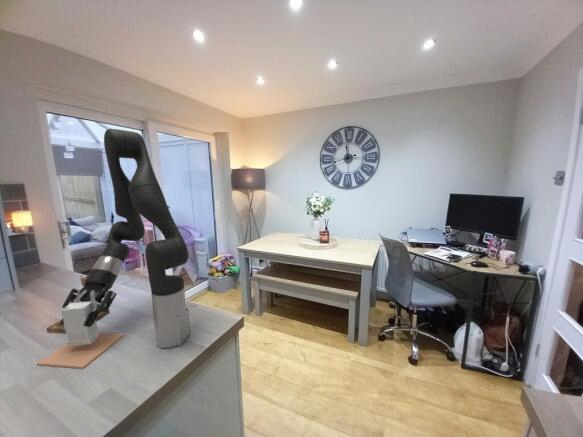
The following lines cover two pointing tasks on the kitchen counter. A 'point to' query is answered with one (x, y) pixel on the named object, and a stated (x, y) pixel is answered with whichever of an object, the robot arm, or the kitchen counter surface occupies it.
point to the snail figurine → (83, 280)
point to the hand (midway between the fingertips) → (75, 325)
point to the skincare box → (79, 324)
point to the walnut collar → (61, 329)
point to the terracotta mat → (80, 352)
